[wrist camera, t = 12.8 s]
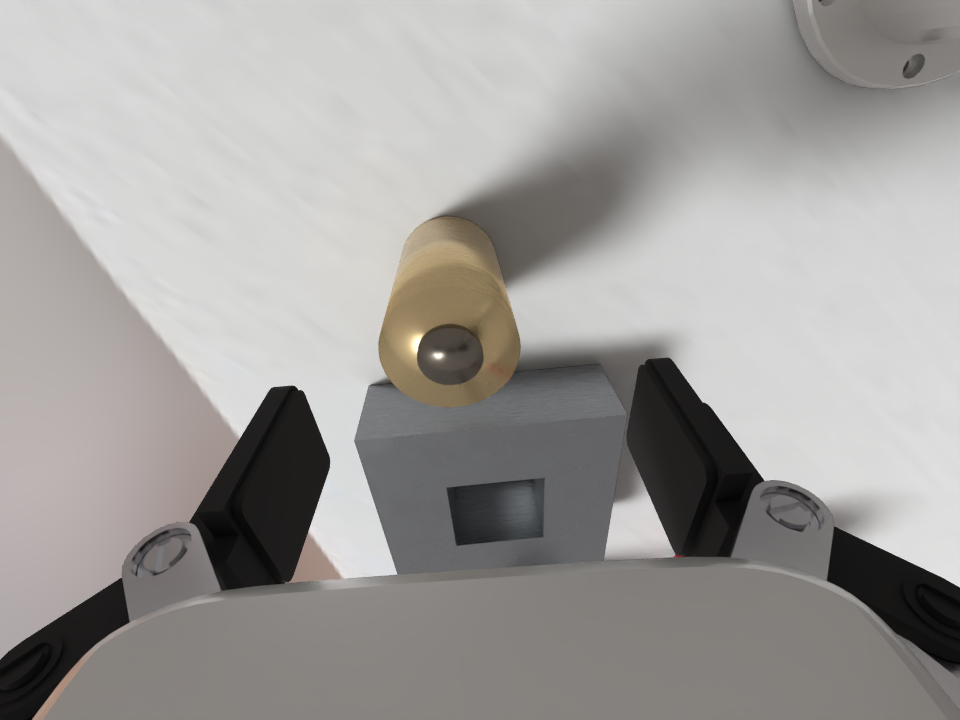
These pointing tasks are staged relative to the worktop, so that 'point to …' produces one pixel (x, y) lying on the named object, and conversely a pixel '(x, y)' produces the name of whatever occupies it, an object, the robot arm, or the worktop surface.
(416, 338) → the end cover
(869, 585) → the robot arm
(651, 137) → the worktop surface
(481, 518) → the housing
